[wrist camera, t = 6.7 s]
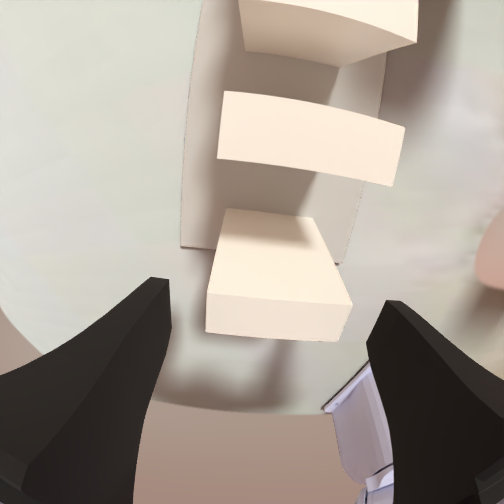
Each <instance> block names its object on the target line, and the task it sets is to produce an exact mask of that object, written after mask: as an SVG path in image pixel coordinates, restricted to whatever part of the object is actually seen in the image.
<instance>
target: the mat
mask: <svg viewBox="0 0 504 504" xmlns="http://www.w3.org/2000/svg"><path fill="white" fill-rule="evenodd" d="M386 59H387V52H384V53H381V54H378V55H375V56H372V57H369V58H366V59H363V60H360V61H357V62H355V63H352V64H349V65H347V66H344V67H341V68H338V67H334V66H330V65H326V64H321V63H317V62H312V61H307V60H302V59H297V58H291V57H285V56H279V55H272V54H264V53H256V52H246V51H245V46H244V38H243V31H242V24H241V16H240V9H239V2H238V0H203V4H202V9H201V15H200V20H199V26H198V32H197V39H196V45H195V52H194V59H193V67H192V75H191V83H190V92H189V101H188V111H187V121H186V133H185V146H184V161H183V179H182V202H181V246H187V247H196V248H205V249H214V250H216V249H217V245H218V241H219V236H220V232H221V228H222V224H223V219H224V215H225V211H226V208H234V209H243V210H251V211H260V212H268V213H276V214H284V215H292V216H300V217H307V218H313V220H314V222H315V224H316V226H317V228H318V230H319V232H320V234H321V236H322V238H323V240H324V242H325V245H326V247H327V249H328V251H329V253H330V255H331V257H332V259H333V262H334V263H343V260H344V257H345V253H346V250H347V247H348V243H349V240H350V236H351V233H352V229H353V225H354V222H355V218H356V214H357V211H358V207H359V203H360V199H361V195H362V191H363V187H364V182H365V181H364V180H359V179H354V178H349V177H344V176H339V175H333V174H328V173H322V172H316V171H310V170H304V169H298V168H291V167H285V166H278V165H270V164H263V163H255V162H246V161H237V160H227V159H217V152H218V142H219V133H220V123H221V115H222V106H223V98H224V91H233V92H244V93H253V94H261V95H269V96H276V97H282V98H289V99H295V100H300V101H306V102H311V103H316V104H321V105H325V106H330V107H334V108H339V109H343V110H347V111H351V112H355V113H359V114H363V115H366V116H370V117H373V118H377V119H378V114H379V108H380V102H381V96H382V89H383V82H384V75H385V67H386Z"/></svg>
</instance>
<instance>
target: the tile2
mask: <svg viewBox="0 0 504 504" xmlns="http://www.w3.org/2000/svg"><path fill="white" fill-rule="evenodd" d="M404 132H405V127H402V126H399V125H396V124H393V123H390V122H387V121H383V120H380V119H377V118H373V117H370V116H366V115H363V114H359V113H355V112H351V111H347V110H343V109H339V108H334V107H330V106H325V105H321V104H316V103H311V102H306V101H300V100H295V99H289V98H282V97H276V96H269V95H261V94H253V93H244V92H233V91H224V98H223V106H222V115H221V123H220V133H219V142H218V152H217V159H227V160H237V161H246V162H255V163H263V164H270V165H278V166H285V167H291V168H298V169H304V170H310V171H316V172H322V173H328V174H333V175H339V176H344V177H349V178H354V179H359V180H364V181H368V182H373V183H377V184H382V185H386V186H391V187H392V185H393V181H394V177H395V173H396V169H397V165H398V161H399V156H400V152H401V147H402V142H403V137H404Z"/></svg>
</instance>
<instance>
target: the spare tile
mask: <svg viewBox="0 0 504 504" xmlns="http://www.w3.org/2000/svg"><path fill="white" fill-rule="evenodd" d="M352 306H353V304H352V302H351V300H350V297H349V295H348V293H347V290H346V288H345V286H344V284H343V281H342V279H341V277H340V275H339V273H338V270H337V268H336V266H335V264H334V262H333V259H332V257H331V255H330V253H329V251H328V249H327V247H326V245H325V242H324V240H323V238H322V236H321V234H320V232H319V230H318V228H317V226H316V224H315V222H314V220H313V218H307V217H300V216H292V215H284V214H276V213H268V212H260V211H251V210H243V209H234V208H226V211H225V215H224V219H223V224H222V228H221V232H220V236H219V241H218V245H217V249H216V254H215V258H214V262H213V267H212V271H211V276H210V280H209V285H208V290H207V301H206V330H205V332H209V333H218V334H227V335H237V336H247V337H259V338H272V339H287V340H306V341H335V342H338V340H339V337H340V335H341V333H342V330H343V328H344V326H345V323H346V321H347V318H348V316H349V314H350V311H351V309H352Z"/></svg>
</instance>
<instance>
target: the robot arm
mask: <svg viewBox="0 0 504 504" xmlns="http://www.w3.org/2000/svg"><path fill="white" fill-rule="evenodd" d="M171 329H172V324H171V309H170V289H169V279H163V278H155V277H150V278H149V279H147V280H146V281H145V282H144V283H142V284H141V285H140V286H139V287H138V288H136V289H135V290H134V291H133V292H132V293H131V294H129V295H128V296H127V297H126V298H125V299H123V300H122V301H121V302H120V303H119V304H117V305H116V306H115V307H114V308H113V309H111V310H110V311H109V312H108V313H106V314H105V315H104V316H102V317H101V318H100V319H98V320H97V321H96V322H94V323H93V324H92V325H91V326H89V327H88V328H87V329H85V330H84V331H82V332H81V333H80V334H78V335H77V336H75V337H74V338H72V339H71V340H69V341H67V342H66V343H64V344H62V345H61V346H59V347H58V348H56V349H54V350H53V351H51V352H49V353H47V354H45V355H43V356H41V357H39V358H37V359H36V360H34V361H32V362H30V363H28V364H26V365H24V366H22V367H20V368H17V369H15V370H12V371H10V372H8V373H6V374H3V375H0V504H133V492H134V491H133V490H134V481H135V472H136V464H137V457H138V451H139V444H140V439H141V433H142V428H143V423H144V419H145V415H146V411H147V408H148V405H149V402H150V399H151V396H152V393H153V390H154V387H155V384H156V381H157V378H158V375H159V372H160V370H161V367H162V364H163V361H164V358H165V355H166V351H167V347H168V342H169V338H170V333H171ZM366 345H367V351H368V357H369V363H368V364H367V365H366V366H365V367H364V368H363V369H362V370H361V372H360V373H359V374H358V375H357V376H356V377H355V378H354V379H353V380H352V381H351V382H350V383H349V384H348V385H347V386H346V387H345V388H344V389H343V390H342V391H341V392H340V393H338V394H337V395H336V396H335V397H334V398H333V399H332V400H331V401H330V402H329V403H328V404H327V405H326V406H325V407H324V411H325V412H329V413H332V416H333V421H334V426H335V431H336V437H337V442H338V448H339V454H340V459H341V463H342V466H343V468H344V470H345V472H346V473H347V475H348V476H349V477H350V478H351V479H352V480H353V481H355V482H357V483H359V484H364V485H366V486H367V487H365V488H363V489H362V490H361V492H360V493H359V496H358V497H357V499H356V501H355V504H504V380H502V379H500V378H499V377H497V376H495V375H494V374H492V373H491V372H489V371H488V370H486V369H485V368H483V367H482V366H481V365H479V364H478V363H476V362H475V361H474V360H472V359H471V358H470V357H468V356H467V355H466V354H465V353H463V352H462V351H461V350H460V349H458V348H457V347H456V346H455V345H454V344H452V343H451V342H450V341H449V340H448V339H446V338H445V337H444V336H443V335H442V334H441V333H439V332H438V331H437V330H436V329H435V328H434V327H433V326H431V325H430V324H429V323H428V322H427V321H426V320H424V319H423V318H422V317H421V316H420V315H419V314H417V313H416V312H415V311H414V310H412V309H411V308H410V307H408V306H407V305H406V304H404V303H403V302H401V301H393V300H386V302H385V304H384V306H383V308H382V311H381V313H380V315H379V317H378V319H377V321H376V323H375V326H374V328H373V330H372V332H371V334H370V336H369V338H368V340H367V342H366Z"/></svg>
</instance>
